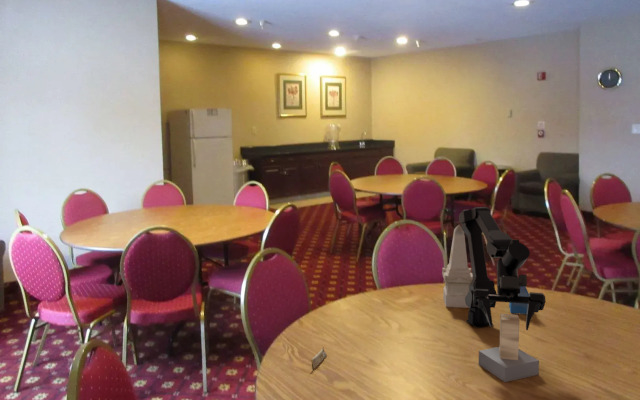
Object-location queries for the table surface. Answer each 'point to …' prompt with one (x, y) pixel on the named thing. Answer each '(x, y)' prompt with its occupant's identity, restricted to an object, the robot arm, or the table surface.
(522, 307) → the perfume bottle
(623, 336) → the table surface
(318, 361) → the snack bar
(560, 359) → the table surface
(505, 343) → the birch block
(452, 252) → the miniature monument
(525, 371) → the plinth
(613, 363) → the table surface
